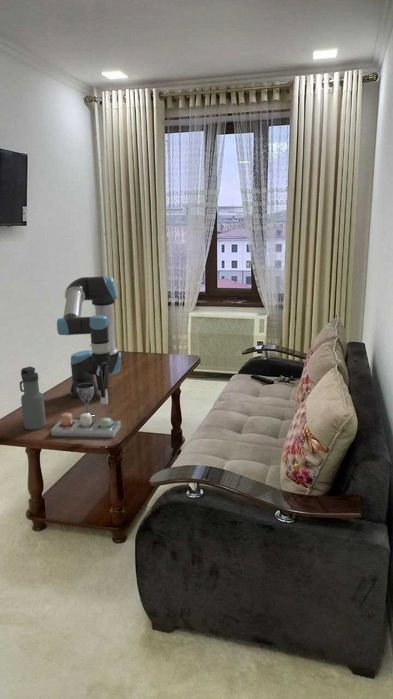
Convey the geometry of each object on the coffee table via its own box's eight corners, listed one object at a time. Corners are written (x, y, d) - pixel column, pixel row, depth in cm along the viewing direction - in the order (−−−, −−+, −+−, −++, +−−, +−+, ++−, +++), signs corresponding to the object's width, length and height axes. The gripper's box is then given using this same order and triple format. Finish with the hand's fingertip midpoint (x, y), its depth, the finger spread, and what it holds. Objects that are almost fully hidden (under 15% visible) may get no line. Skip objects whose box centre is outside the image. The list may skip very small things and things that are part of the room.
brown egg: (63, 423, 230) (62, 412, 229) (74, 423, 229) (73, 412, 228) (59, 427, 225) (58, 416, 224) (70, 427, 225) (69, 417, 223)
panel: (61, 425, 234) (61, 418, 233) (120, 426, 231) (120, 420, 230) (51, 435, 223) (51, 429, 222) (113, 437, 219) (113, 430, 219)
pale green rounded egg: (102, 428, 228) (101, 417, 227) (113, 428, 228) (112, 417, 227) (99, 432, 224) (98, 421, 222) (110, 432, 223) (109, 422, 222)
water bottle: (20, 426, 234) (13, 368, 227) (39, 420, 240) (33, 363, 234) (30, 432, 227) (23, 372, 220) (50, 426, 233) (44, 367, 227)
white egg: (82, 423, 229) (82, 413, 228) (93, 423, 228) (92, 413, 227) (79, 427, 224) (78, 417, 223) (90, 428, 223) (89, 417, 222)
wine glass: (89, 418, 241) (87, 388, 237) (75, 417, 244) (73, 387, 240) (98, 413, 248) (96, 383, 244) (85, 411, 251) (82, 382, 247)
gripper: (96, 347, 223) (100, 398, 230) (87, 355, 211) (91, 408, 217) (113, 347, 223) (116, 398, 229) (104, 355, 210) (108, 409, 216)
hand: (104, 403), depth 223 cm, fingers closed
